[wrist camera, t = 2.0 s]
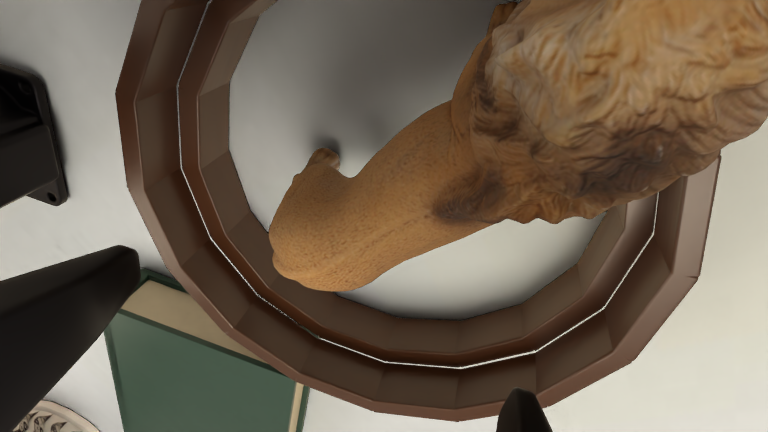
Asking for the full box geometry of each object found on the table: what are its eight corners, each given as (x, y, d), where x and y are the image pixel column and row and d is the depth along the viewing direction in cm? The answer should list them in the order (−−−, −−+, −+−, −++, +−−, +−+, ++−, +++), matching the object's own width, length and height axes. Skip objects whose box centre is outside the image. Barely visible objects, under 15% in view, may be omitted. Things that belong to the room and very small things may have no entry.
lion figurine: (603, -182, 10) (710, -395, 3) (741, -5, 11) (1065, 139, 4) (282, 183, 19) (115, 349, 12) (375, 267, 20) (273, 468, 13)
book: (160, 418, 32) (128, 459, 29) (142, 267, 24) (97, 305, 22) (294, 472, 31) (273, 519, 28) (320, 332, 23) (295, 380, 20)
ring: (199, 269, 23) (144, 325, 20) (187, -175, 13) (74, -214, 10) (540, 392, 21) (543, 477, 18) (813, -25, 11) (930, -11, 8)
